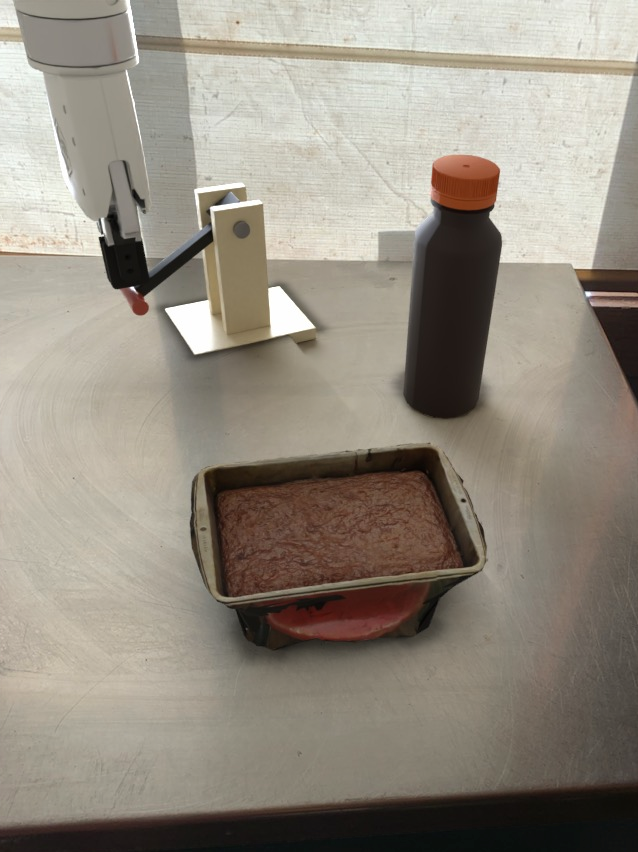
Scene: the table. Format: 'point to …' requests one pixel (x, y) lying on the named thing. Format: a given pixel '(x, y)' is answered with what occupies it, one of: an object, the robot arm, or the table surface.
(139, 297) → the lever
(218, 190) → the bracket
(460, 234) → the bottle
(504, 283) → the table surface
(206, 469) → the baking dish
